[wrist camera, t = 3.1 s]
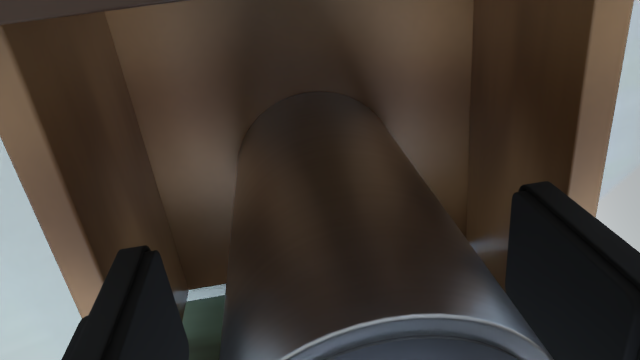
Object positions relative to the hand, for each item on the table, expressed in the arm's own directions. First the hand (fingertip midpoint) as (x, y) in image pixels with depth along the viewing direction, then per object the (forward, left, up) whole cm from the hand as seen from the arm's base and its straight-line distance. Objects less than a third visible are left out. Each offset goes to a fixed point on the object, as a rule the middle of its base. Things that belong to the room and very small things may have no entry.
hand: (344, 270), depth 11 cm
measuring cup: (0, 0, -6) cm, 6 cm away
